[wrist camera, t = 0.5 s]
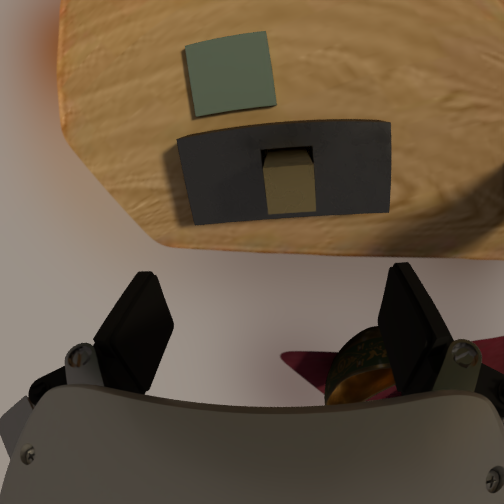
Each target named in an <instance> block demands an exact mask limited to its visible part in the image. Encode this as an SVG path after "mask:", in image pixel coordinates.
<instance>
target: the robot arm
mask: <svg viewBox="0 0 504 504" xmlns="http://www.w3.org/2000/svg"><path fill="white" fill-rule="evenodd" d="M378 326H379V329H380V332H381V336H382V339H383V342H384V345H385V348H386V352H387V355H388V359H389V362H390V365H391V369H392V373H393V376H394V380H395V384H396V388H397V390H398V391H399V392H400V391H401V393H402V396H400V397H394V398H387V399H380V400H373V401H365V402H357V403H348V404H338V405H325V406H307V407H247V406H228V405H216V404H206V403H196V402H188V401H180V400H173V399H167V398H160V397H154V396H149V395H145V392H146V391H148V390H149V389H150V387H151V384H152V381H153V379H154V377H155V374H156V371H157V369H158V366H159V364H160V361H161V359H162V356H163V353H164V351H165V349H166V346H167V343H168V341H169V339H170V336H171V334H172V331H173V329H174V323H173V319H172V317H171V314H170V311H169V309H168V306H167V303H166V301H165V298H164V295H163V292H162V289H161V286H160V283H159V280H158V278H157V276H156V275H154V274H153V273H152V272H151V271H149V272H148V271H145V272H143V271H142V272H138V273H137V274H136V275H135V277H134V278H133V280H132V281H131V282H130V284H129V285H128V287H127V288H126V290H125V291H124V293H123V294H122V296H121V297H120V298H119V300H118V301H117V303H116V304H115V306H114V308H113V309H112V311H111V312H110V313H109V315H108V317H107V318H106V319H105V321H104V323H103V324H102V326H101V327H100V329H99V331H98V332H97V334H96V335H95V337H94V338H93V340H94V342H95V343H94V345H93V346H92V345H91V344H89V343H81V344H78V345H76V346H74V347H73V348H71V349H70V351H69V352H68V353H67V355H66V357H65V366H63V367H61V368H59V369H57V370H55V371H53V372H51V373H49V374H47V375H45V376H43V377H41V378H39V379H37V380H36V381H35V382H34V383H33V384H32V385H31V387H30V389H29V397H27V396H24V397H23V398H22V399H21V400H20V401H19V402H17V403H16V404H15V405H14V406H13V407H12V408H11V409H9V410H8V411H7V412H6V413H5V414H4V415H3V416H2V417H1V418H0V435H1V437H2V440H3V443H4V445H5V448H6V450H7V453H8V455H9V457H10V463H9V466H8V468H7V472H6V475H5V478H4V482H3V486H2V490H1V494H0V504H504V374H502V373H500V372H498V371H496V370H494V369H492V368H490V367H488V366H486V365H484V364H483V363H481V362H482V355H481V352H480V350H479V348H478V347H477V346H476V345H475V344H474V343H472V342H471V341H469V340H465V339H458V340H455V341H454V340H453V338H452V336H451V334H450V332H449V330H448V328H447V326H446V325H445V322H444V321H443V319H442V317H441V315H440V313H439V311H438V310H437V308H436V306H435V304H434V303H433V301H432V299H431V297H430V296H429V295H428V293H427V291H426V290H425V288H424V286H423V284H422V283H421V281H420V280H419V278H418V276H417V275H416V273H415V272H414V270H413V269H412V267H411V265H410V264H409V263H408V262H404V263H395V264H394V265H393V267H390V268H389V272H388V278H387V282H386V287H385V291H384V295H383V300H382V304H381V308H380V312H379V316H378Z"/></svg>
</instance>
